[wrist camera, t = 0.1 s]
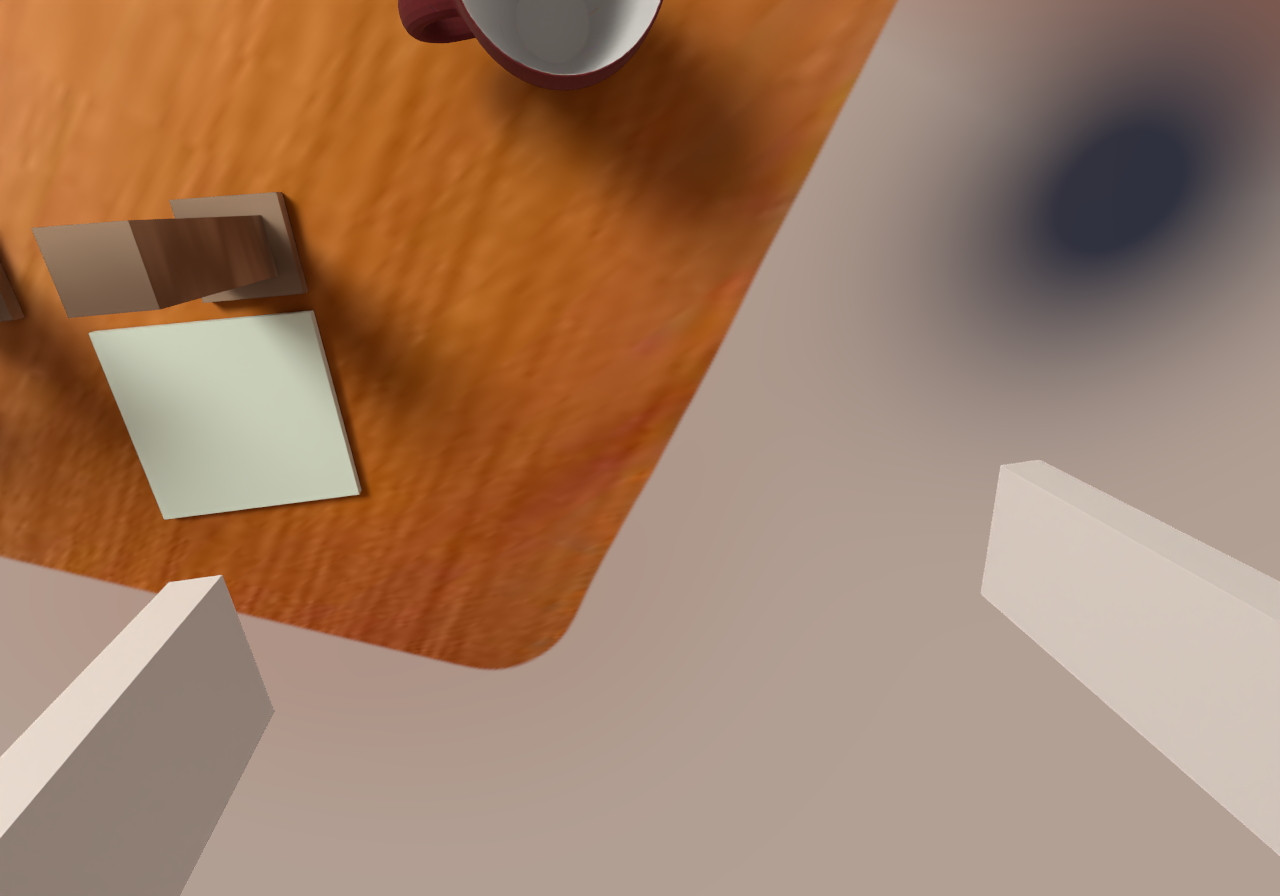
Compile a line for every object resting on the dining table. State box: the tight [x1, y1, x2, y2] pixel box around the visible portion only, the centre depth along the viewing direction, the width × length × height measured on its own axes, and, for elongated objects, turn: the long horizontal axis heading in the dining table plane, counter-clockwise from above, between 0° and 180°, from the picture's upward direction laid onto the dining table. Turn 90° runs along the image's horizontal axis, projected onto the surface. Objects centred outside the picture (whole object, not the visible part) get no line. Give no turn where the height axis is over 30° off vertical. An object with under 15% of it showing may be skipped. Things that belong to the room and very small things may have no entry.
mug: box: [398, 0, 663, 90], centre depth 27 cm, size 10×8×10 cm
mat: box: [88, 310, 362, 520], centre depth 35 cm, size 11×11×1 cm
